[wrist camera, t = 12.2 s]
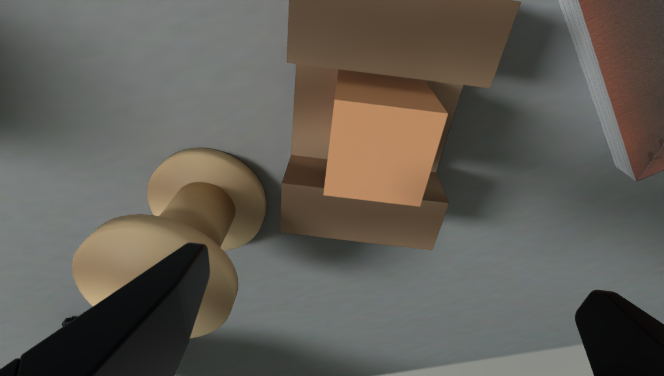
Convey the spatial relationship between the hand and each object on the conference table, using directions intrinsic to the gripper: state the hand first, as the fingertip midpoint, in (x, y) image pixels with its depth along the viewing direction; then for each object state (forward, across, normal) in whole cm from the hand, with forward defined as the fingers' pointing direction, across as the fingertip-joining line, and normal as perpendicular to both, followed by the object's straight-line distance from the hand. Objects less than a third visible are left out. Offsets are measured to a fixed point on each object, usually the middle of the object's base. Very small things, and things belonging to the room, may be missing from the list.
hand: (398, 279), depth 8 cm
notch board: (+12, 0, 0) cm, 12 cm away
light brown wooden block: (+11, 0, 0) cm, 11 cm away
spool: (+12, +9, +7) cm, 17 cm away
